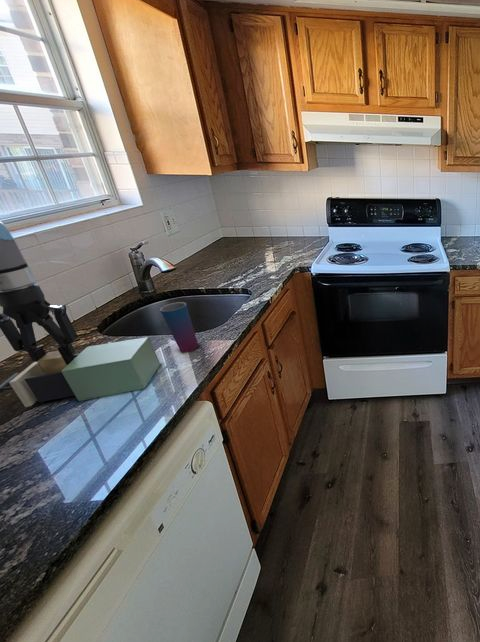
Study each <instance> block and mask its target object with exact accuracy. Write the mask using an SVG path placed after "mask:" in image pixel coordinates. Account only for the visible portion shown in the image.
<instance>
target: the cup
mask: <svg viewBox="0 0 480 642" xmlns="http://www.w3.org/2000/svg"><path fill="white" fill-rule="evenodd" d="M159 311H160V313H161V315H162V317H163V319H164V322H165V323H166V325H167V327H168V329H169V331H170V333H171V335H172V337H173V340H174V341H175V343H176V345H177V347H178V350H179V351H180V352H181V353H187V352H191V351H194V350H196V349H198V347H199V343H198V339H197V336H196V332H195V329H194V326H193V323H192V319H191V315H190V312H189V309H188V305H187V303H186V302H184V301H176V302H171V303H168V304H165V305H163V306H162V307H160V308H159Z"/></svg>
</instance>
